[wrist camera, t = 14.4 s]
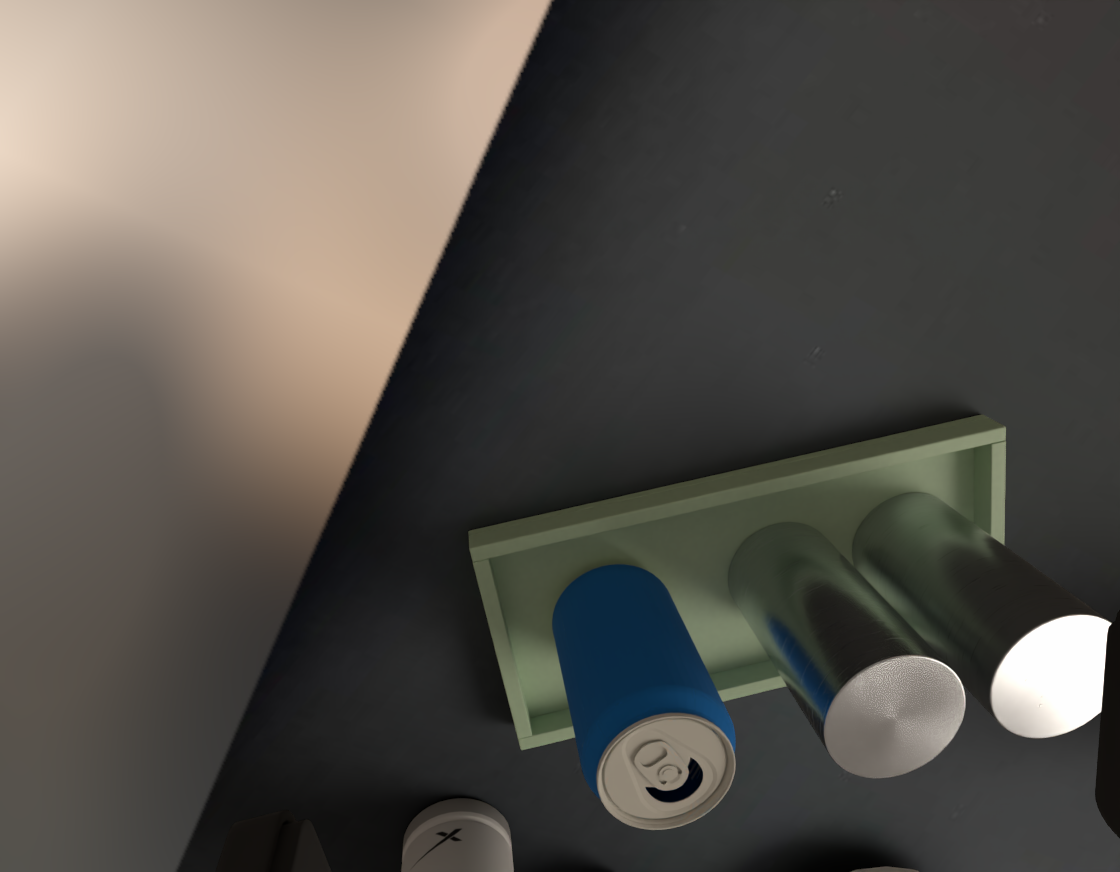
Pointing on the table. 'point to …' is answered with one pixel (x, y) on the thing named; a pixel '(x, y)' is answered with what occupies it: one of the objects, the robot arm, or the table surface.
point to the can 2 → (987, 614)
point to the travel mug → (458, 839)
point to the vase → (885, 869)
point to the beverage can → (641, 700)
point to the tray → (711, 550)
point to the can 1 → (845, 653)
